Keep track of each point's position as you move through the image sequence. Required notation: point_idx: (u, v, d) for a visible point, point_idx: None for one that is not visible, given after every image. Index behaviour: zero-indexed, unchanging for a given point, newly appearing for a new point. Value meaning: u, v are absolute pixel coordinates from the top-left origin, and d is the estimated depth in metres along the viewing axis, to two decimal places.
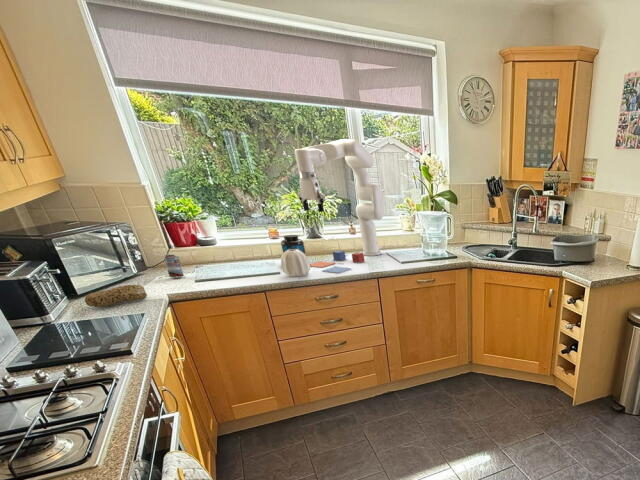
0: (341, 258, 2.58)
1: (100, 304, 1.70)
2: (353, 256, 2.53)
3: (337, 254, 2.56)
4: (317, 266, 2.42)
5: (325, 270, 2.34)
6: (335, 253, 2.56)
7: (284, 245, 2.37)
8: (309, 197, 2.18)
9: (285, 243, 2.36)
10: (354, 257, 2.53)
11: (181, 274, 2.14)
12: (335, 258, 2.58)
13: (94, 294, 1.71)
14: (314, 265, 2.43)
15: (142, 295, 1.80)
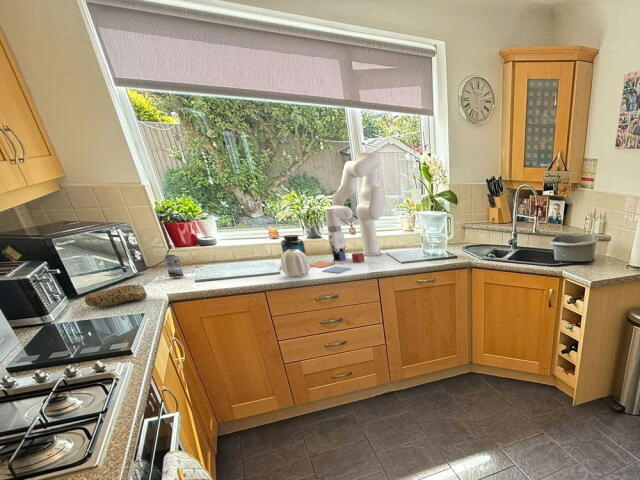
0: (341, 258, 2.58)
1: (100, 304, 1.70)
2: (353, 256, 2.53)
3: None
4: (317, 266, 2.42)
5: (325, 270, 2.34)
6: None
7: (284, 245, 2.37)
8: None
9: (285, 243, 2.36)
10: (354, 257, 2.53)
11: (181, 274, 2.14)
12: None
13: (94, 294, 1.71)
14: (314, 265, 2.43)
15: (142, 295, 1.80)
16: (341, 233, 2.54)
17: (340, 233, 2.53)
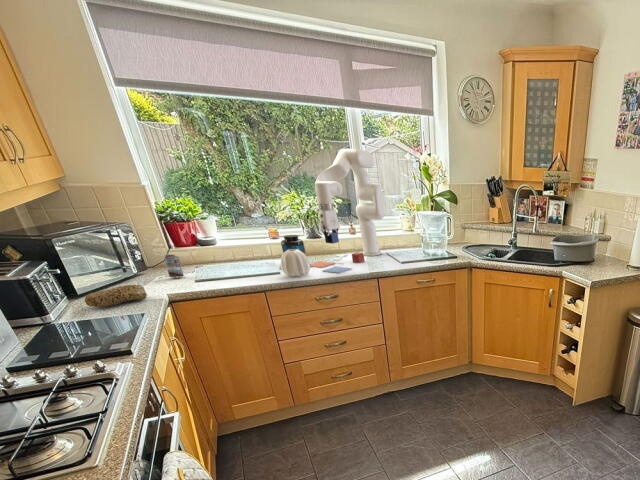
0: (334, 240, 2.30)
1: (100, 304, 1.70)
2: (353, 256, 2.53)
3: None
4: (317, 266, 2.42)
5: (325, 270, 2.34)
6: None
7: (284, 245, 2.37)
8: None
9: (285, 243, 2.36)
10: (354, 257, 2.53)
11: (181, 274, 2.14)
12: None
13: (94, 294, 1.71)
14: (314, 265, 2.43)
15: (142, 295, 1.80)
16: (334, 212, 2.26)
17: (333, 212, 2.25)
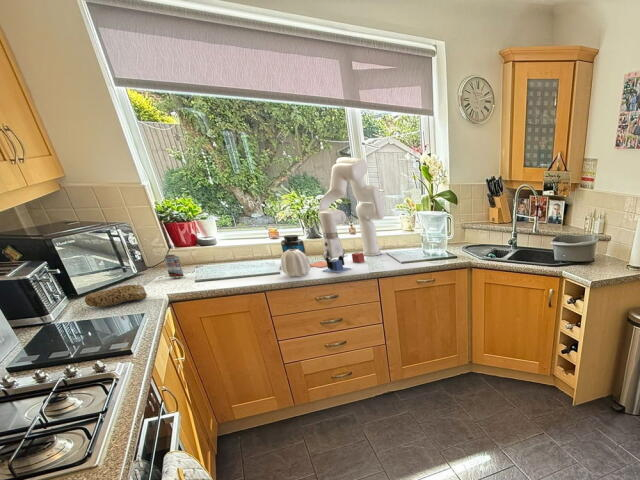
0: (338, 268, 2.34)
1: (100, 304, 1.70)
2: (353, 256, 2.53)
3: (334, 264, 2.32)
4: (317, 266, 2.42)
5: (325, 270, 2.34)
6: None
7: (284, 245, 2.37)
8: None
9: (285, 243, 2.36)
10: (354, 257, 2.53)
11: (181, 274, 2.14)
12: None
13: (94, 294, 1.71)
14: (314, 265, 2.43)
15: (142, 295, 1.80)
16: (338, 240, 2.30)
17: (337, 240, 2.29)
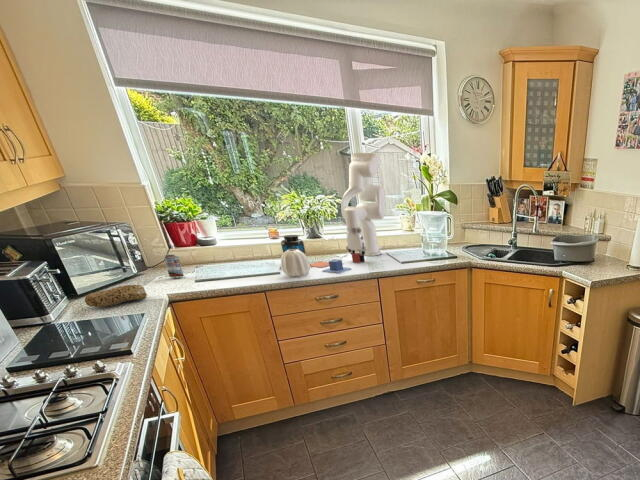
0: (338, 268, 2.34)
1: (100, 304, 1.70)
2: (353, 256, 2.53)
3: (334, 264, 2.32)
4: (317, 266, 2.42)
5: (325, 270, 2.34)
6: (331, 262, 2.32)
7: (284, 245, 2.37)
8: (355, 248, 2.50)
9: (285, 243, 2.36)
10: (354, 257, 2.53)
11: (181, 274, 2.14)
12: (331, 268, 2.34)
13: (94, 294, 1.71)
14: (314, 265, 2.43)
15: (142, 295, 1.80)
16: None
17: None
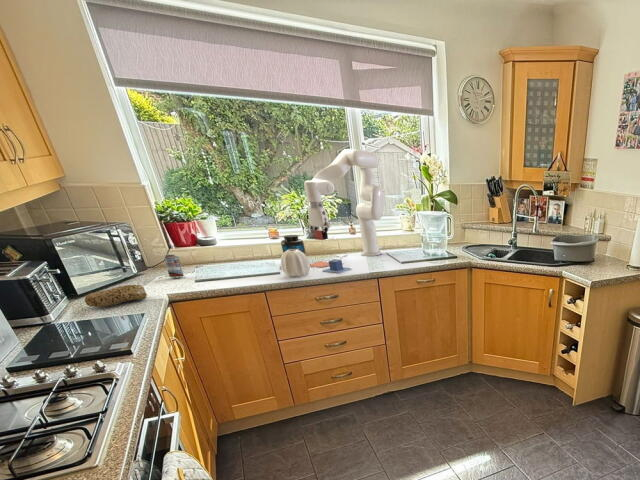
0: (338, 268, 2.34)
1: (100, 304, 1.70)
2: (315, 233, 2.38)
3: (334, 264, 2.32)
4: (317, 266, 2.42)
5: (325, 270, 2.34)
6: (331, 262, 2.32)
7: (284, 245, 2.37)
8: (317, 224, 2.35)
9: (285, 243, 2.36)
10: (317, 234, 2.37)
11: (181, 274, 2.14)
12: (331, 268, 2.34)
13: (94, 294, 1.71)
14: (314, 265, 2.43)
15: (142, 295, 1.80)
16: None
17: None
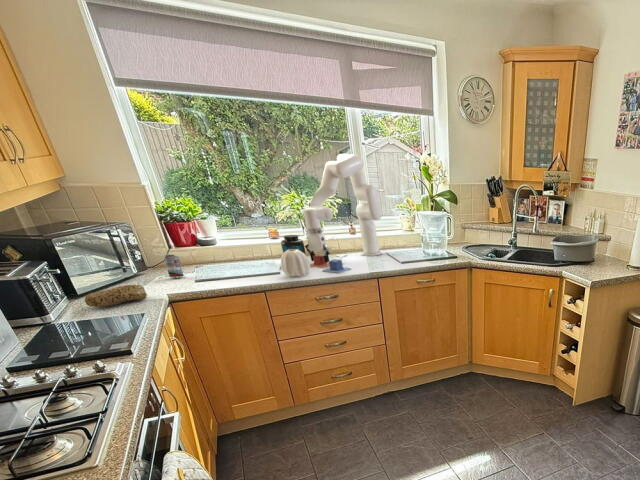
0: (338, 268, 2.34)
1: (100, 304, 1.70)
2: (314, 258, 2.43)
3: (334, 264, 2.32)
4: (317, 266, 2.42)
5: (325, 270, 2.34)
6: (331, 262, 2.32)
7: (284, 245, 2.37)
8: (316, 250, 2.41)
9: (285, 243, 2.36)
10: (316, 259, 2.43)
11: (181, 274, 2.14)
12: (331, 268, 2.34)
13: (94, 294, 1.71)
14: (314, 265, 2.43)
15: (142, 295, 1.80)
16: None
17: None
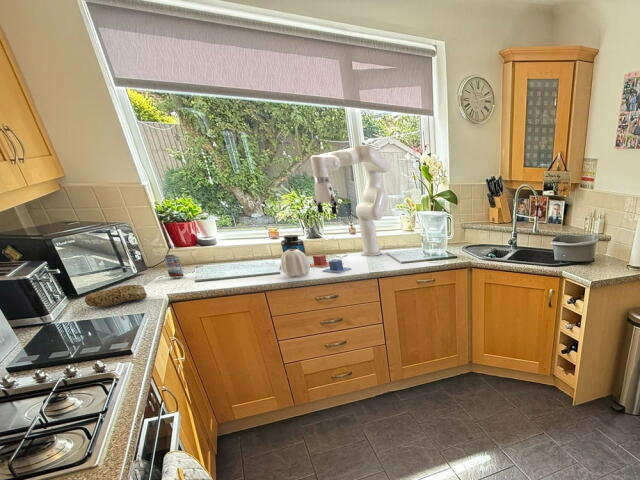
0: (338, 268, 2.34)
1: (100, 304, 1.70)
2: (314, 258, 2.43)
3: (334, 264, 2.32)
4: (317, 266, 2.42)
5: (325, 270, 2.34)
6: (331, 262, 2.32)
7: (284, 245, 2.37)
8: (323, 200, 2.33)
9: (285, 243, 2.36)
10: (316, 259, 2.43)
11: (181, 274, 2.14)
12: (331, 268, 2.34)
13: (94, 294, 1.71)
14: (314, 265, 2.43)
15: (142, 295, 1.80)
16: None
17: None
